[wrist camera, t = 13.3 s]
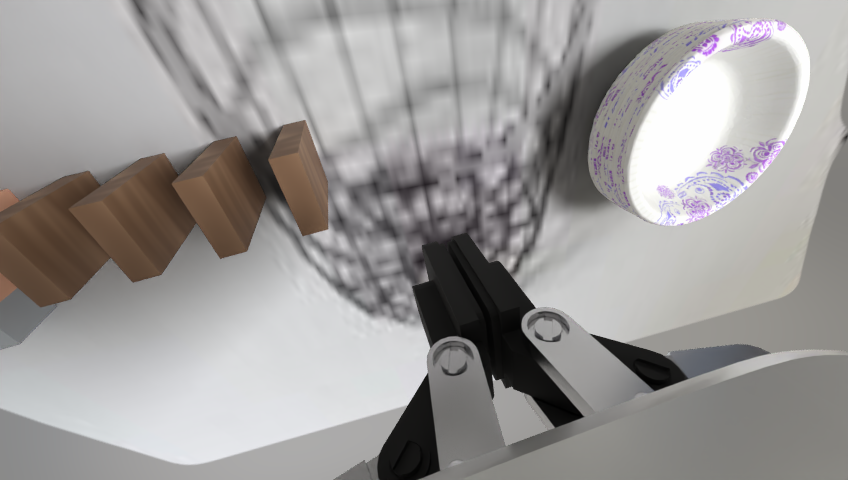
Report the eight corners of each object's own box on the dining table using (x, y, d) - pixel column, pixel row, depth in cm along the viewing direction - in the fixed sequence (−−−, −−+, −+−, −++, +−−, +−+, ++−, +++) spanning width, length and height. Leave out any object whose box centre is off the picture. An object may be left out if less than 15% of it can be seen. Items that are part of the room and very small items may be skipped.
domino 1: (88, 170, 23) (-7, 226, 16) (135, 230, 26) (70, 299, 19) (63, 176, 23) (-43, 235, 16) (113, 236, 26) (40, 307, 19)
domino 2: (164, 153, 24) (101, 200, 17) (202, 214, 26) (161, 274, 20) (140, 158, 23) (67, 208, 17) (181, 219, 26) (133, 282, 20)
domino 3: (236, 136, 24) (203, 175, 18) (266, 197, 27) (247, 251, 20) (213, 141, 24) (171, 183, 17) (246, 202, 27) (220, 258, 20)
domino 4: (305, 120, 25) (297, 152, 18) (327, 181, 27) (328, 229, 21) (283, 125, 24) (268, 159, 18) (308, 186, 27) (302, 236, 21)
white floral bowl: (676, -28, 26) (796, -48, 19) (731, 102, 33) (831, 120, 27) (534, 133, 30) (592, 162, 23) (612, 217, 37) (673, 256, 31)
